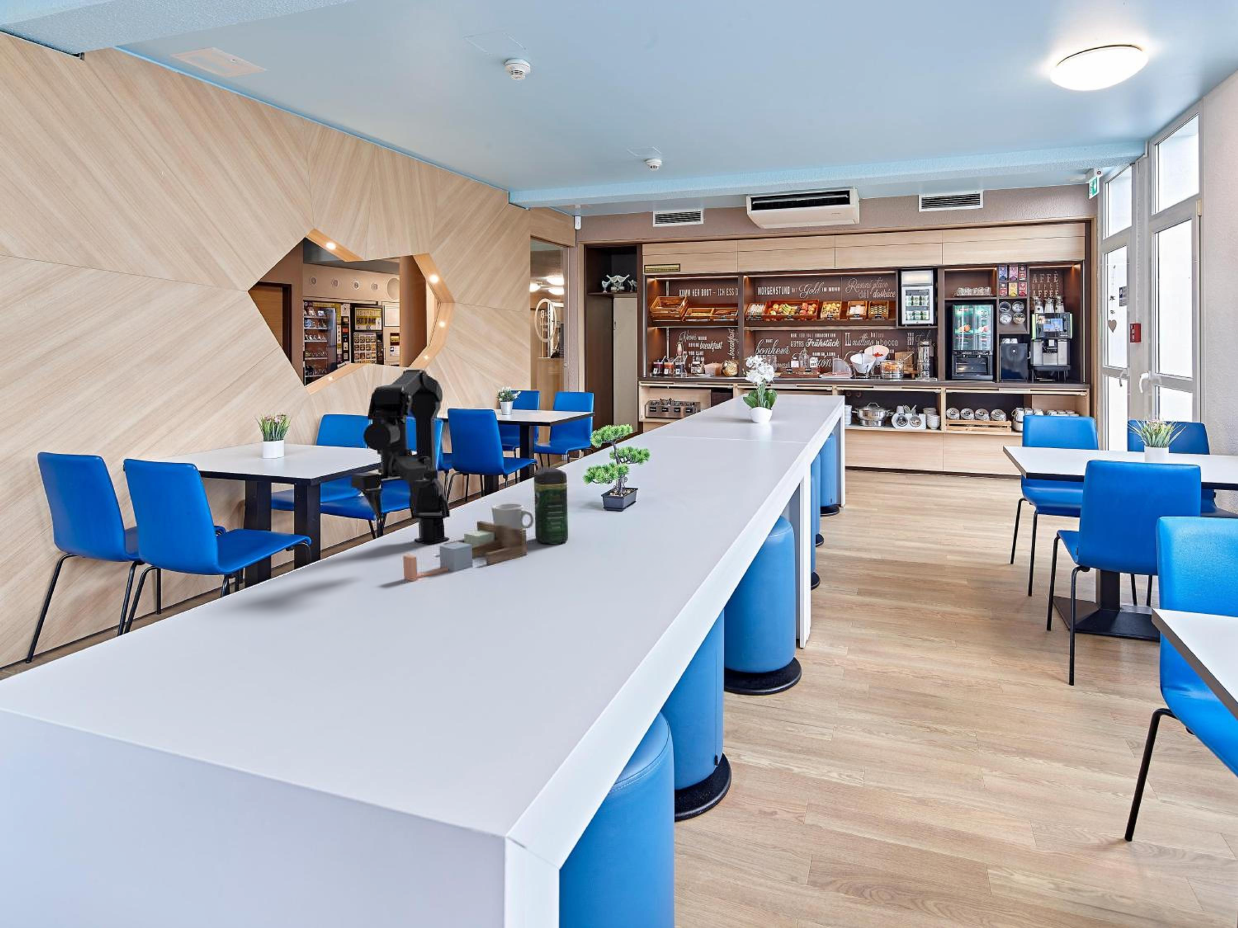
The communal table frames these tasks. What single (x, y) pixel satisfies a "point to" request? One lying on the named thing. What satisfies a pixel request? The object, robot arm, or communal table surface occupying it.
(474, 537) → the green block
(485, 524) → the lane rack
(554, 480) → the coffee jar
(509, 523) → the cup
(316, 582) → the communal table surface
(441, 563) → the wooden bar with block
